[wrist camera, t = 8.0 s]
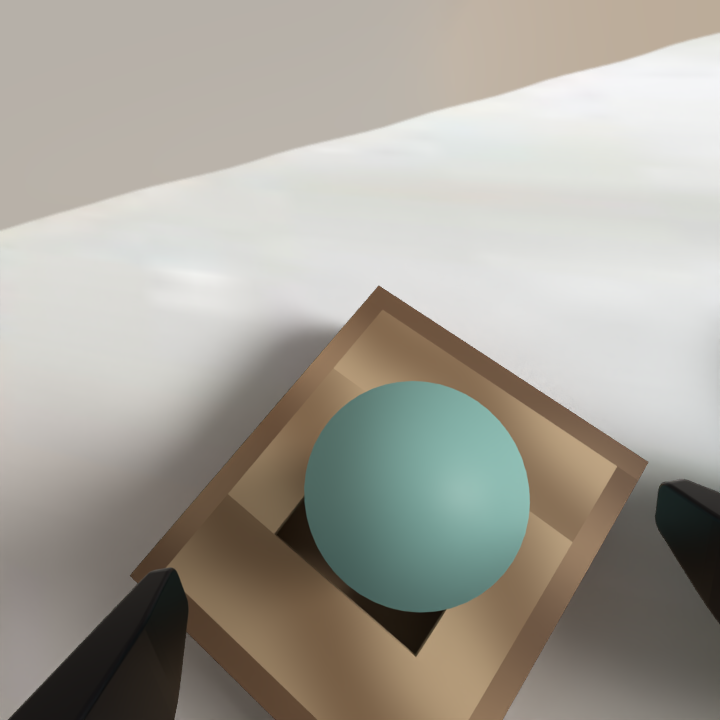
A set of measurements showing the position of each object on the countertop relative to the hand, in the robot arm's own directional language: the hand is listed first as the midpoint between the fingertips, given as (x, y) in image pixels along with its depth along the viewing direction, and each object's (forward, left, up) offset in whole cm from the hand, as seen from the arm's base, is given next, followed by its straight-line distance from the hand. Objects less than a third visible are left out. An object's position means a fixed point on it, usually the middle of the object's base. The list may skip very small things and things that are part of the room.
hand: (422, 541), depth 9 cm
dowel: (+1, +1, -12) cm, 12 cm away
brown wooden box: (+1, +1, -13) cm, 13 cm away
